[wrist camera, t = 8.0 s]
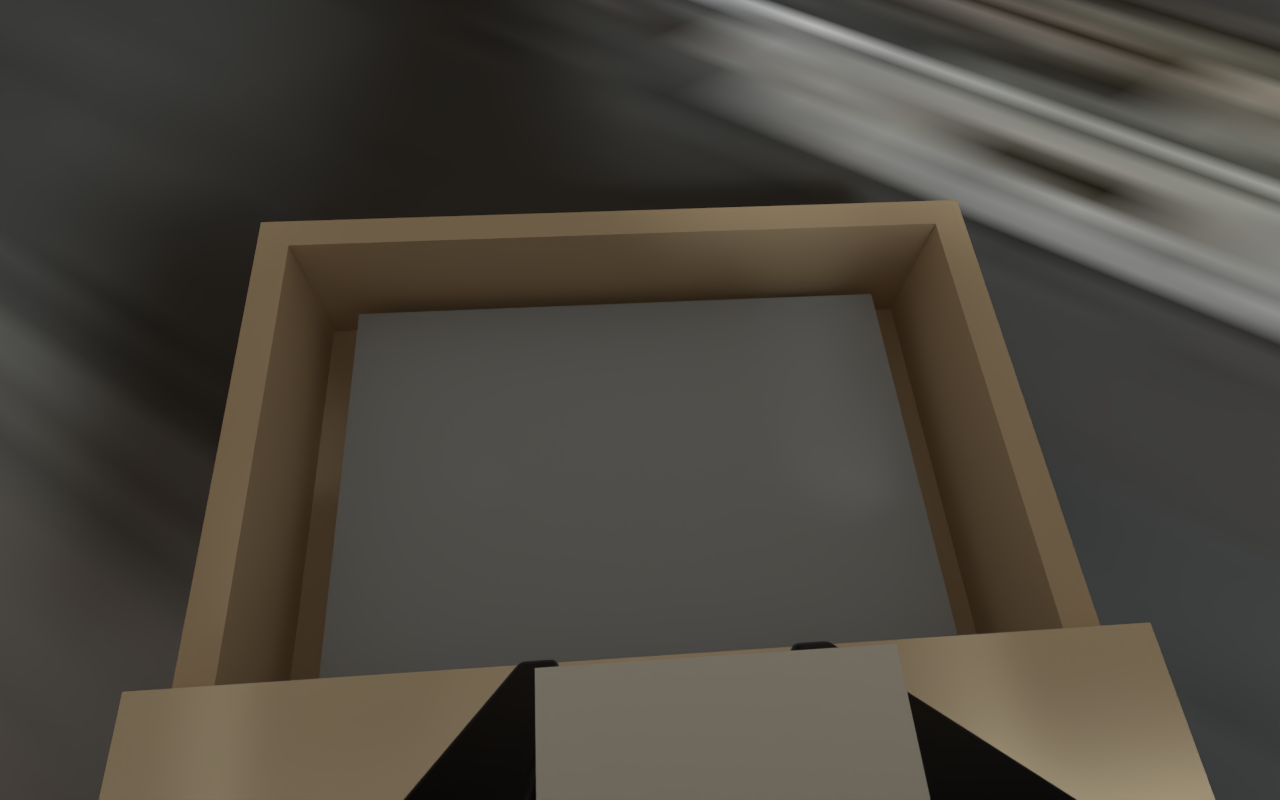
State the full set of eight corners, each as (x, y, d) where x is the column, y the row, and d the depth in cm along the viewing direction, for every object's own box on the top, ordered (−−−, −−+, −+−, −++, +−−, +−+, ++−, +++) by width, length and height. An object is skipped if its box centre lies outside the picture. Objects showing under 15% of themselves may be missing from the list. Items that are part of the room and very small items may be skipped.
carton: (1058, 862, 14) (1181, 866, 11) (231, 934, 13) (119, 959, 10) (903, 299, 20) (956, 200, 17) (317, 322, 19) (260, 222, 16)
